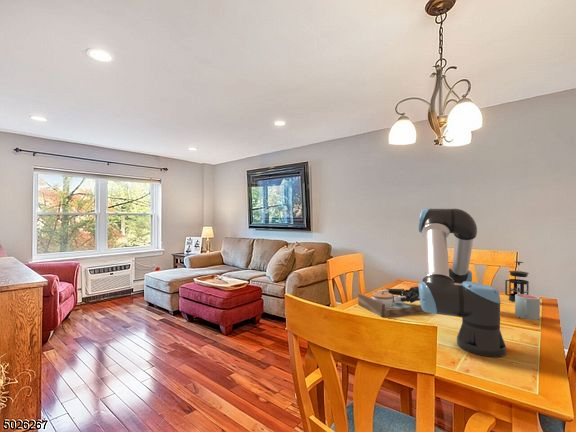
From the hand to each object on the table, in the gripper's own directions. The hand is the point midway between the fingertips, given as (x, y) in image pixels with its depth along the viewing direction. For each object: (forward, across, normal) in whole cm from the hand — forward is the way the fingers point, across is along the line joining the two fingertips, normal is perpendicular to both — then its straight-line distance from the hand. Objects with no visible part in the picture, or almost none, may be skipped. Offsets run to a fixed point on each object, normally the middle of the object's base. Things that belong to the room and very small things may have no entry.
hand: (386, 296), depth 154 cm
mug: (-56, -32, -7) cm, 65 cm away
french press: (-83, -10, -7) cm, 84 cm away
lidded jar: (+3, -1, -7) cm, 7 cm away
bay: (-2, 0, -6) cm, 7 cm away
